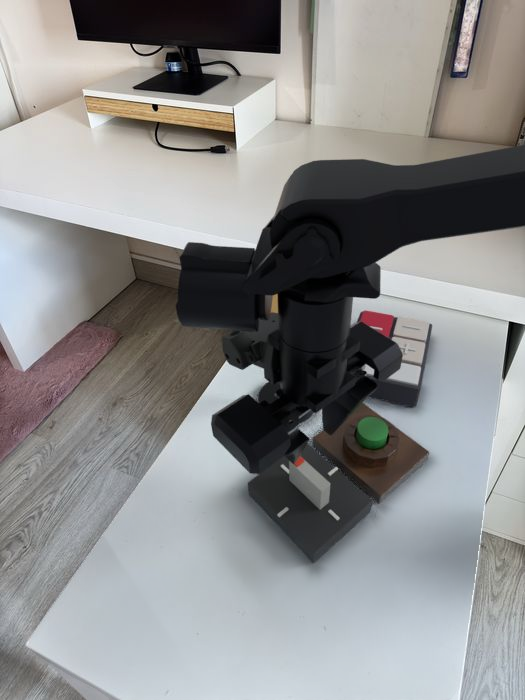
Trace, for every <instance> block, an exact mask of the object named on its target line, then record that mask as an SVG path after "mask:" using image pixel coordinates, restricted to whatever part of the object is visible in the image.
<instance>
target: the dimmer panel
mask: <svg viewBox="0 0 525 700" xmlns="http://www.w3.org/2000/svg"><path fill="white" fill-rule="evenodd" d="M317 451H318V450H315V448H314V447H313V446H311V445H310V444H308V443H307V445H306V447H305V448H304V450H303V452H302V454H301V457H302V458H303V459H304V460H305V461H306V462H307V463H308V464H309V465H311V466H312V467H313V468H314V469H315V470H316V471H317V472H318V473H319V474H321V475H322V476H323V477H324V478H325V479H326V480H327V481H328V482H329V483H330V495H329V503H328V504H326V505H325V506H324V507H323V508H322V509H321V510H320V509H319V508H318V507H317V506H316V505H314V504H313V503H312V502H311V501H310V500H309V499H308V498H307V497H306V496H305V495H304V494H303V493H302V492H301V491H300V490H299V489H298V488H297V487H296V486H295V485H294V484H293V483H292V482H291V481H290V480H289V460H288V459H287V458H286V457H282V458H281V459H279V460H278V461H277V462H275V463H274V464H273V465H271V466H270V467H269V468H267V469H266V470H265V471H263V472H262V473H261V474H256V476H255V477H253V478H252V479H250V480H249V481H248V482H247V483H246V484H247V492H248V496H249V497H251V499H252V500H253V501H254V502H255V503H256V504H257V505H258V506H259V507H260V508H261V509H262V510H263V511H264V513H265V514H267V516H268V517H269V518H270V519H271V520H272V521H273V522H274V524H276V526H278V528H280V530H282V531H283V533H284V534H285V535H286V536H287V537H288V538H289V539H290V540H291V541H292V542H293V544H295V545H296V546H297V548H298V549H299V550H301V552H302V553H303V554H304V555H305V556H306V557H307V558H308V559H309V560H310V561H311V563H313V564H316V562H317V561H318V560H319V559H320V558H322V557H323V556H324V555H325V554H326V553H327V552H328V551H329V550H331V549H332V548H333V547H334V546H335V545H336V544H337V543H338V542H339V541H341V539H343V538H344V537H345V536H346V535H347V534H348V533H349V532H350V531H351V530H353V528H355V527H357V525H358V524H359V523H360V522H362V520H363V519H365V517H367V516H368V515H369V514H370V513H371V512H372V507H373V502H374V501H373V500H374V499H373V498H370V496H369V495H368V494H367V493H366V492H365V491H363V490H362V489H361V488H360V487H359V486H358V485H356V484H354V482H353V481H352V480H351V479H350V478H348V477H347V476H346V475H345V474H344V473H343V472H342V471H340V470H339V468H337V467H336V466H335V465H334V464H332V463H331V462H330V461H329V460H328V459H327V458H326V457H324V456H323V455H322V454H321V453H320V452H319V451H318V452H317Z"/></svg>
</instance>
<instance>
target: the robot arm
mask: <svg viewBox="0 0 525 700" xmlns="http://www.w3.org/2000/svg"><path fill="white" fill-rule="evenodd" d="M519 228H525V144H521V145H516V146H510V147H505V148H499V149H494V150H489V151H483V152H478V153H473V154H472V153H471V154H466V155H461V156H457V157H456V156H455V157H451V158H445V159H440V160H434V161H429V162H424V163H419V164H401V165H397V164H389V163H385V162H380V161H374V160H370V159H366V158H365V159H364V158H354V159H353V158H352V159H351V158H348V159H346V158H345V159H318V160H311V161H309V162H307V163H304V164H301V165H300V166H298V167H297V168H296V169H294V170H293V172H292V173H291V174H290V176H289V177H288V179H287V180H286V181H285V184H284V185H283V188H282V191H281V194H280V197H279V200H278V204H277V206H276V210H275V212H274V215H273V216H272V218H270V219H269V221H268V223H266V224H265V226H264V227H263V228H262V230H261V233H260V235H259V239H258V241H257V243H256V247H240V246H226V245H225V246H223V245H222V246H221V245H211V244H208V243H205V242H194V241H188V242H187V243H186V244H185V246H184V248H183V249H182V252H181V253H180V255H179V263H180V272H179V277H178V286H177V301H176V303H175V310H176V316H177V319H178V321H179V323H180V325H181V326H183V327H190V328H202V329H213V330H215V329H216V330H223V331H228V332H227V333H226V334H223V335H222V336H221V340H222V341H221V344H222V345H221V346H222V352H223V355H224V358H225V361H226V362H227V363H228V365H230V366H232V367H234V368H237V369H239V370H242V371H244V370H245V369H247V368H249V367H250V366H252V365H253V366H256V367H258V368H260V369H263V376H264V377H263V378H264V379H265V380H266V381H267V382H270V383H271V384H272V385H274V384H276V383H278V384H280V385H281V388H280V389H279V390H277V391H276V392H275V396H276V397H277V398H278V399H277V400H275V401H274V402H272V403H271V404H269V403H268V402H267V401H266V400H263V401H262V402H260V403H258V400H256V399H255V398H254V397H252V396H251V394H249V393H248V394H243V395H241V396H239V397H238V398H236V399H235V400H234V401H232V402H231V403H228V404H227V405H226V406H224V407H223V408H221V409H219V410H217V411H216V412H215V413H213V414H212V415H211V419H210V420H211V422H210V426H211V433H212V436H213V438H214V439H215V440H216V441H217V442H218V443H219V444H220V445H222V447H223V448H224V449H225V450H226V451H227V452H228V453H229V454H230V455H231V456H232V457H233V458H234V459H235V460H236V461H237V462H238V463H239V464H240V465H241V466H242V467H243V468H244V469H245V470H246V471H247V472H248V474H250V475H259V474H261V473H262V472H263V471H265V470H266V469H267V468H269V467H270V466H271V465H273V464H274V463H275V462H277V461H278V460H279V459H281V458H282V457H286V458H287V459H288V460H289V461H290V462H291V463H293V464H294V463H296V462H297V460H298V459H299V457H300V456H301V454H302V452H303V450H304V448H305V447H306V445H307V444H308V443H309V441H310V437H309V436H308V435H306V434H305V433H304V432H303V431H302V430H301V429H299V428H300V426H301V425H300V424H301V423H300V421H299V419H300V418H301V417H302V416H304V415H305V414H307V413H308V412H309V411H311V410H312V411H313V412H314V413H313V414H318V413H319V412H320V411H321V421H322V422H321V423H322V430H324V431H325V432H326V433H328V434H329V435H332V434H333V433H334V432H335V431H336V430H337V429H338V428H339V427H340V426H341V425H342V424H343V423H344V422H345V421H346V419H347V418H348V417H349V416H350V415H351V414H352V413H353V412H354V411H355V410H356V409H357V408H358V407H359V406H360V405H361V404H362V403H364V402H365V401H366V400H367V399H368V398H370V397H369V396H370V395H371V394H372V393H373V392H374V391H375V390H376V389H377V384H376V382H374V381H373V380H371V379H370V378H369V377H367V376H366V375H367V372H366V371H364V369H365V365H368V366H369V367H371V368H372V369H374V376H373V377H374V378H376V379H377V380H379V381H382V382H383V381H385V380H386V379H387V378H389V377H390V376H391V375H393V374H394V373H395V372H397V371H398V370H399V369H400V367H401V362H402V357H403V354H402V351H401V349H400V347H399V345H398V343H396V342H394V341H393V340H391V339H389V338H388V337H386V336H385V335H383V334H381V333H380V332H378V331H376V330H375V329H373V328H372V327H370V326H368V325H367V324H365V323H363V322H362V321H361V322H358V323H357V322H355V323H352V316H353V315H352V314H353V305H354V298H359V299H370V300H371V299H373V300H376V299H378V298H379V297H381V278H382V276H381V275H382V273H381V272H382V271H381V270H382V269H381V265H380V264H378V263H377V262H379V261H381V260H382V259H384V258H386V257H387V256H389V255H391V254H393V253H395V252H396V251H397V250H399V249H401V248H403V247H406V246H410V245H414V244H416V243H420V242H425V241H434V240H439V239H446V238H447V239H448V238H453V237H454V238H455V237H461V236H468V235H476V234H483V233H490V232H497V231H505V230H513V229H519ZM276 294H277V295H278V313H274V312H271V307H272V299H273V295H276Z"/></svg>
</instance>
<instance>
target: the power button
mask: <svg viewBox="0 0 525 700" xmlns="http://www.w3.org/2000/svg"><path fill="white" fill-rule="evenodd" d="M387 436H388V427H387V425H386V423H385V422H384V421H382V420H381V419H379V418H376V417H367V418H364V419H362V420H361V421H360V422H359V424H358V427H357V435H356V437H357V441H358V442H359V444H360V445H361V446H363V447H364V448H367V449H371V450H375V449H379V448H381V447H383V446H384V445H385V443H386V441H387Z"/></svg>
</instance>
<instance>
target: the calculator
mask: <svg viewBox="0 0 525 700" xmlns="http://www.w3.org/2000/svg"><path fill="white" fill-rule="evenodd" d="M361 321H362V322H363V323H365V324H367V325H368V326H370V327H372V328H373V329H375V330H376V331H378V332H380V333H381V334H383V335H385V336H386V337H388V338H389V339H391V340H393V341H394V342H396V343H398V345H399V347H400V349H401V351H402V354H403V357H402V362H401V367H400V369H399V370H398V371H397V372H395V373H394V374H393V375H391V376H390V377H389V378H387V379H386V380H385V381H383V382H382V381H379V380H377V379H376V378H374V377H373V376H374V369H372V368H371V367H369V366H368V365H365V369H364V371H366V372H367V375H366V376H367V377H369V378H370V379H371V380H373V381H374V382H376V384H377V389H376V390H375V391H374V392H373V393H372V394H371V395H370V396H369V397H368V398H371V399H376V400H381V401H385V402H391V403H394V404H399V405H403V406H407V407H412V408H415V407H417V405H418V401H419V398H420V393H421V391H422V390H421V389H422V384H423V379H424V373H425V368H426V362H427V357H428V352H429V347H430V342H431V336H432V330H433V324H432V323H430V322H429V321H426V320H422V319H421V320H420V319H415V318H411V317H410V318H409V317H404V316H394V315H392V314H387V313H382V312H376V311H371V310H362V311H360V313H359V315H358V317H357V321H356V323H358V322H361Z"/></svg>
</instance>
